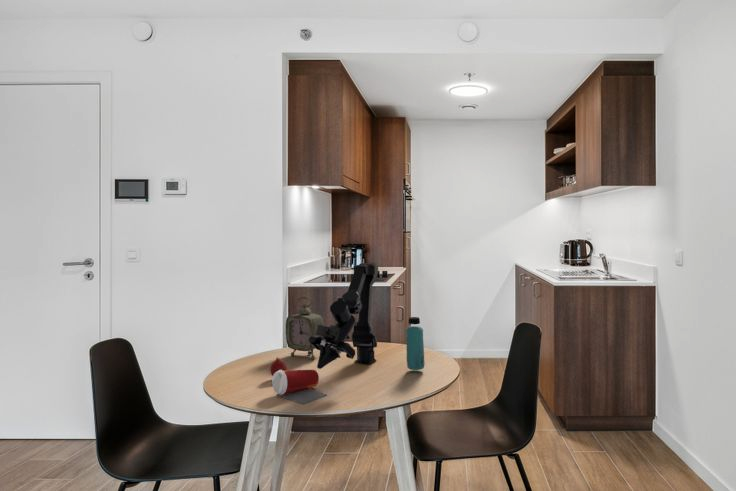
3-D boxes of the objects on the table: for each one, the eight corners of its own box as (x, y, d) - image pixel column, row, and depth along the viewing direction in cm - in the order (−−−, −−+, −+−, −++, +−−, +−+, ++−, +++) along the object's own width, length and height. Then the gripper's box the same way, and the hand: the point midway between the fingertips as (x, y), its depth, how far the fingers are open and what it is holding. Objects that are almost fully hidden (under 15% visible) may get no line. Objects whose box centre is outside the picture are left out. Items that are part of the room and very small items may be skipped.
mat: (276, 394, 150) (276, 394, 150) (300, 386, 158) (300, 385, 158) (303, 404, 142) (303, 403, 142) (327, 395, 149) (327, 394, 149)
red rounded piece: (289, 377, 168) (289, 355, 167) (281, 382, 162) (281, 360, 162) (275, 376, 170) (275, 354, 169) (267, 381, 164) (266, 358, 164)
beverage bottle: (424, 374, 168) (423, 319, 167) (405, 373, 169) (404, 319, 168) (425, 368, 174) (424, 315, 173) (407, 368, 175) (406, 315, 174)
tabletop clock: (286, 356, 195) (284, 297, 194) (300, 351, 203) (298, 294, 202) (313, 361, 188) (311, 299, 187) (327, 355, 195) (325, 296, 194)
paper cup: (312, 361, 159) (275, 365, 150) (323, 375, 153) (286, 380, 144) (305, 380, 161) (268, 385, 152) (315, 395, 156) (278, 400, 147)
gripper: (311, 312, 164) (286, 350, 157) (348, 318, 151) (323, 360, 144) (329, 330, 170) (306, 367, 163) (365, 338, 157) (342, 378, 150)
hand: (318, 368), depth 155 cm, fingers closed
